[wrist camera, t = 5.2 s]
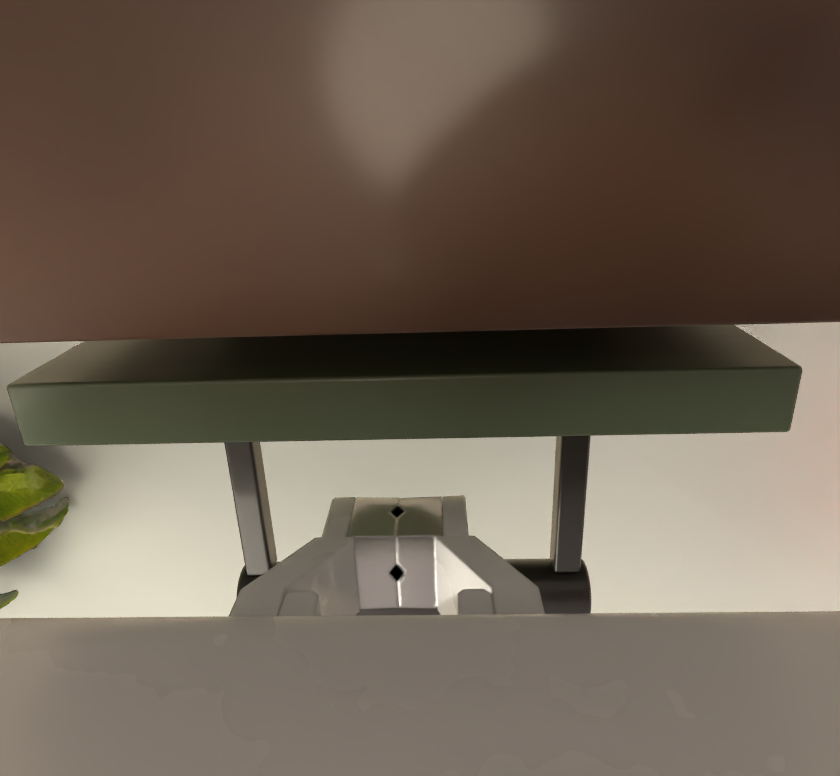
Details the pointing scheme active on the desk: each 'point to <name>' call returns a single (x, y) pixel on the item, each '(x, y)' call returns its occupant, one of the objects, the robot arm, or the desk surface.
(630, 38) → the cabinet
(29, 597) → the desk surface
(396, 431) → the drawer
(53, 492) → the passion flower
